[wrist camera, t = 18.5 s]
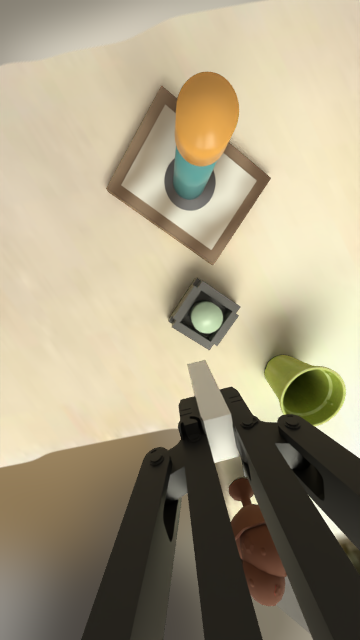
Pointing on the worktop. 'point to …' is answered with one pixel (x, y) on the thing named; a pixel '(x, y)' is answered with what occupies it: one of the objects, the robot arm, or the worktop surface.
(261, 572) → the ice cream bowl
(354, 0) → the worktop surface
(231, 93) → the orange-topped post
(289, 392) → the plant pot
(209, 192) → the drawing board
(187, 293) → the button housing
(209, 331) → the button
